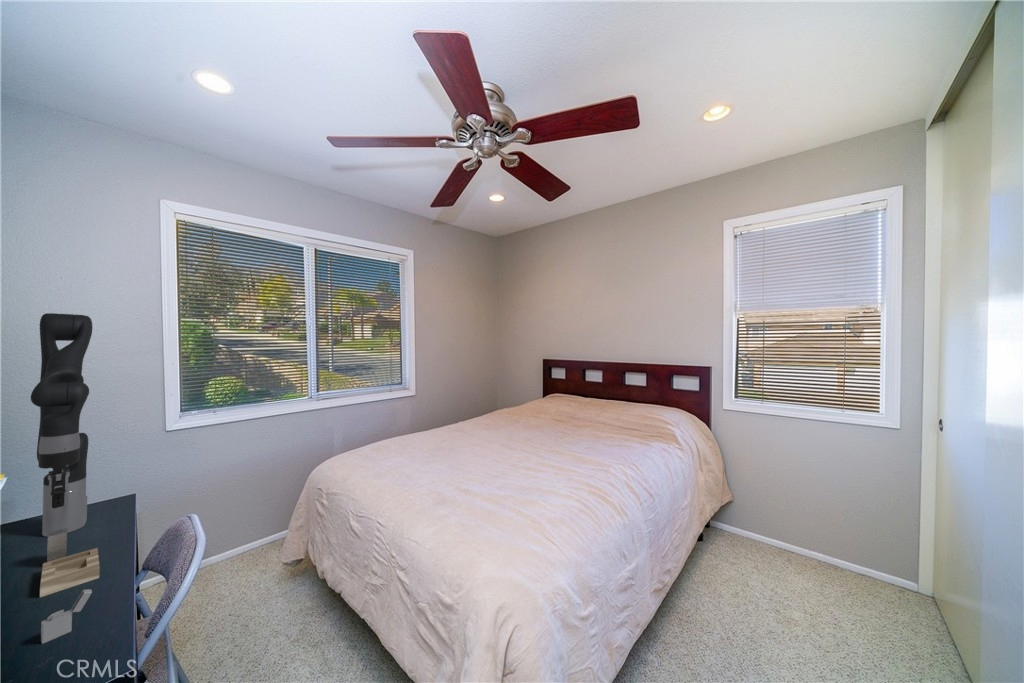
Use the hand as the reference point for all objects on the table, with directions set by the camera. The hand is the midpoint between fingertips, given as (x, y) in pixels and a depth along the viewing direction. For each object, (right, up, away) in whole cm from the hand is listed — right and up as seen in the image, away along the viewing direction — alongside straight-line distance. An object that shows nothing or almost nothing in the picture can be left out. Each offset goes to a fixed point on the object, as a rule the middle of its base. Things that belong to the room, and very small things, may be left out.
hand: (58, 502), depth 104 cm
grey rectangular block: (-1, -18, 0) cm, 18 cm away
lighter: (+33, -19, -24) cm, 45 cm away
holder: (+11, -18, -6) cm, 22 cm away
